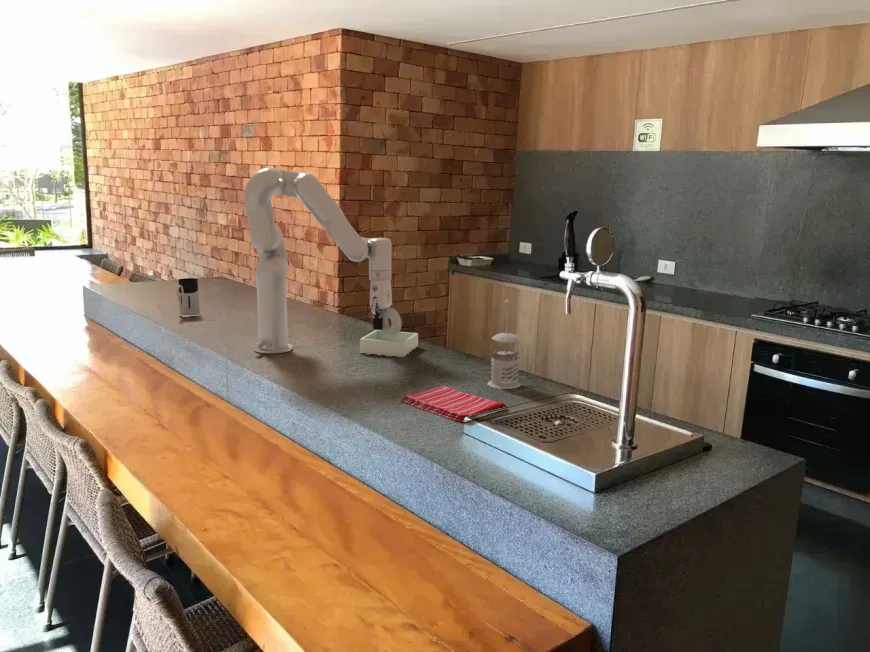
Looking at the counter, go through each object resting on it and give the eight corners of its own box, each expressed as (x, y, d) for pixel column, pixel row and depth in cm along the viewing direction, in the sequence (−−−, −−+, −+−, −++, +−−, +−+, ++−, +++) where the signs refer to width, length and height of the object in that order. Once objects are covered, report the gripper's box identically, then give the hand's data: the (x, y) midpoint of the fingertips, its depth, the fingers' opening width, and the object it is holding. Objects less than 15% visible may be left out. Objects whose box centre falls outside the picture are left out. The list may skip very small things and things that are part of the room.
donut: (376, 335, 242) (376, 306, 240) (383, 333, 245) (383, 305, 243) (396, 339, 236) (396, 310, 234) (403, 338, 238) (403, 309, 236)
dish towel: (464, 426, 171) (464, 415, 171) (398, 403, 188) (398, 393, 187) (509, 411, 183) (509, 401, 183) (444, 391, 200) (444, 382, 199)
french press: (480, 384, 205) (483, 299, 200) (506, 377, 213) (509, 294, 208) (506, 391, 198) (510, 303, 193) (532, 384, 206) (536, 299, 201)
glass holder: (204, 313, 298) (202, 278, 295) (189, 320, 285) (187, 283, 281) (184, 312, 299) (182, 277, 296) (168, 319, 285) (166, 282, 282)
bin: (404, 357, 233) (404, 342, 232) (359, 353, 237) (359, 339, 236) (417, 347, 248) (418, 333, 247) (375, 343, 252) (375, 329, 251)
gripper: (382, 278, 229) (382, 334, 233) (398, 272, 245) (398, 324, 249) (360, 277, 231) (361, 332, 235) (378, 271, 247) (378, 322, 251)
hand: (380, 327), depth 242 cm, fingers closed on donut, 3 cm apart
